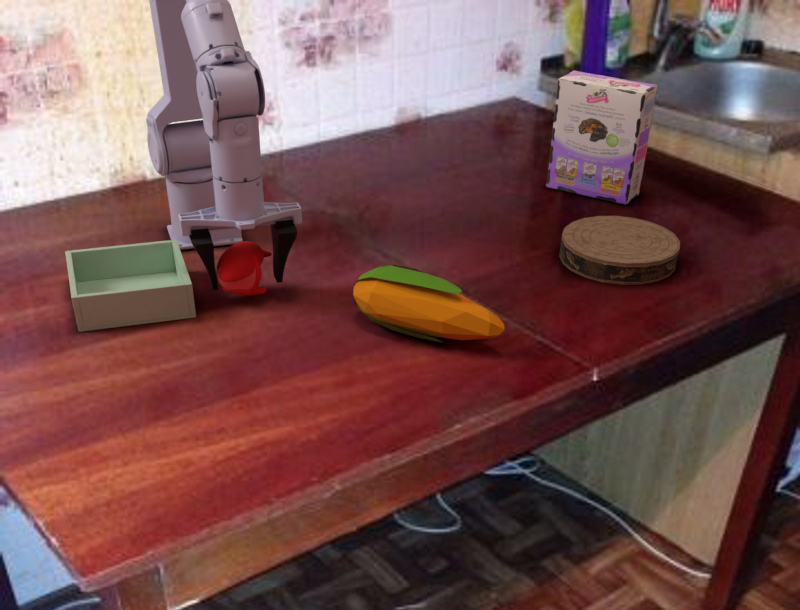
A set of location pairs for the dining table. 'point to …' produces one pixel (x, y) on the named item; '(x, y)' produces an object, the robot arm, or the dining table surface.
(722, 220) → the dining table surface
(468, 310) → the corn
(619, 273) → the tin can
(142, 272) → the bin
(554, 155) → the candy box
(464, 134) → the dining table surface
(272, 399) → the dining table surface
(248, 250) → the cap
